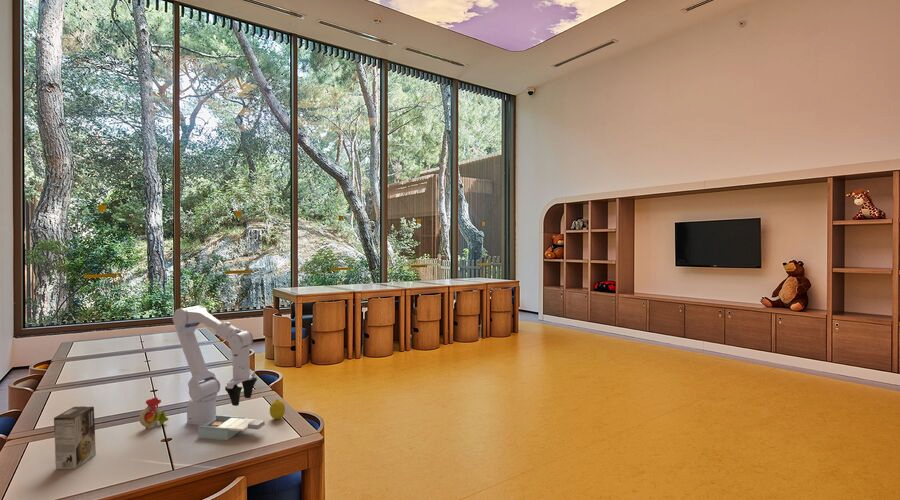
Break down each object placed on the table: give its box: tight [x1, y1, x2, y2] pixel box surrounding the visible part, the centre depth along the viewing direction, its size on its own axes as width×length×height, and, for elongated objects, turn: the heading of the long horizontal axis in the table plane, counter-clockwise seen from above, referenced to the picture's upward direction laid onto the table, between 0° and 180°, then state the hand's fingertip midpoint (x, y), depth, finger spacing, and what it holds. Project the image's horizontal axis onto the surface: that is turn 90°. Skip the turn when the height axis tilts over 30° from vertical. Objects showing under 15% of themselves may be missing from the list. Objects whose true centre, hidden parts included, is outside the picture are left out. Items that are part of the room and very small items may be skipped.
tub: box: [197, 414, 245, 441], centre depth 169 cm, size 11×10×5 cm
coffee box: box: [53, 406, 97, 470], centre depth 148 cm, size 9×6×16 cm
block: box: [211, 422, 223, 427], centre depth 172 cm, size 3×3×2 cm
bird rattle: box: [138, 396, 169, 430], centre depth 175 cm, size 6×11×9 cm
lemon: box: [269, 399, 286, 420], centre depth 182 cm, size 6×6×8 cm
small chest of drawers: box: [218, 418, 266, 432], centre depth 168 cm, size 14×8×2 cm, turn 81°
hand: (241, 401), depth 174 cm, fingers open, 7 cm apart
